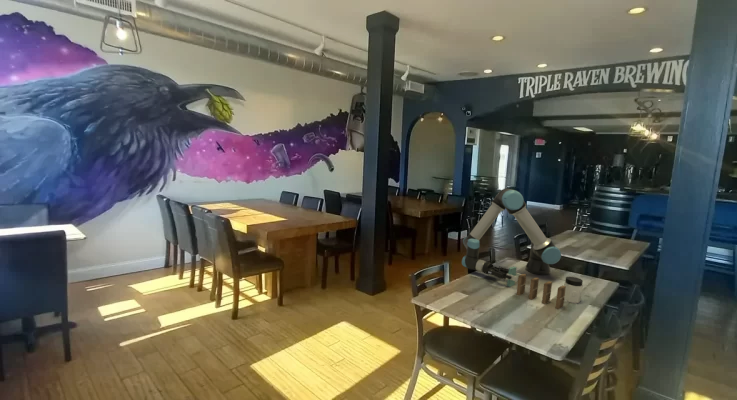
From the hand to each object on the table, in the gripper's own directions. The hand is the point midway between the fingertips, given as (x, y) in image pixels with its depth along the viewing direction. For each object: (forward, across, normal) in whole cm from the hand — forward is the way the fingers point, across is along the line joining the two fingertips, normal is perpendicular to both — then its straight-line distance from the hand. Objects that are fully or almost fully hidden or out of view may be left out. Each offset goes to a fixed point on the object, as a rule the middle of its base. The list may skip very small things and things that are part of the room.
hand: (520, 278), depth 214 cm
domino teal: (-5, 0, -6) cm, 8 cm away
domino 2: (+12, +8, -6) cm, 16 cm away
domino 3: (+19, +8, -6) cm, 21 cm away
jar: (+26, -8, -6) cm, 28 cm away
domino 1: (+5, +8, -6) cm, 11 cm away
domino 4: (+26, +8, -6) cm, 28 cm away
